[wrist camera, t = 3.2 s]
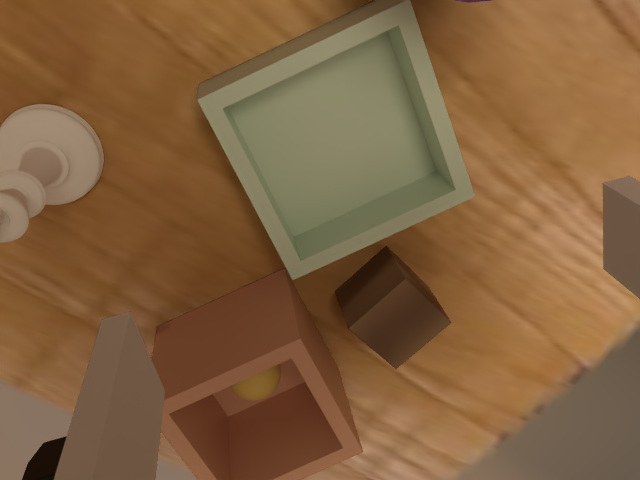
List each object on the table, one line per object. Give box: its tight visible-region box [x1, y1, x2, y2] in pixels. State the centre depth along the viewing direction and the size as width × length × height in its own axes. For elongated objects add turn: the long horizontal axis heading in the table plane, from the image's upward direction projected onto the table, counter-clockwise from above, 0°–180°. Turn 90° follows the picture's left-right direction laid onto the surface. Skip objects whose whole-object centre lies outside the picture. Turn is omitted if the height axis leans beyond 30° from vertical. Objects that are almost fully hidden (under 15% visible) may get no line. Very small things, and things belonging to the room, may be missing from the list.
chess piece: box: [0, 104, 104, 242], centre depth 25 cm, size 5×5×10 cm
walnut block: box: [335, 246, 451, 369], centre depth 34 cm, size 4×4×4 cm
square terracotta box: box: [152, 268, 363, 480], centre depth 33 cm, size 8×8×7 cm
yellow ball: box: [230, 364, 281, 401], centre depth 34 cm, size 3×3×3 cm
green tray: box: [197, 0, 475, 280], centre depth 30 cm, size 10×10×4 cm
